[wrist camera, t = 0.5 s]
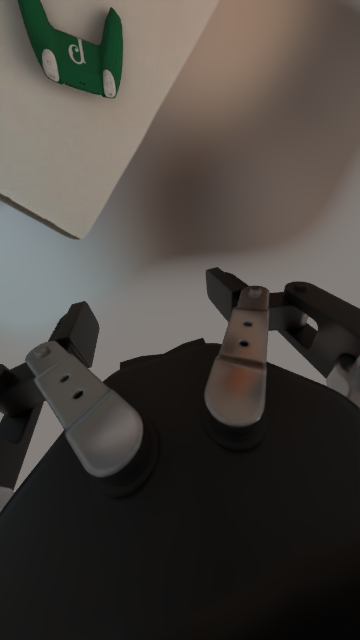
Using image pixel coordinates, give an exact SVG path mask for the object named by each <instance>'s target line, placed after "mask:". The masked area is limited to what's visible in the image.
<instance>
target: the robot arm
mask: <svg viewBox="0 0 360 640" xmlns="http://www.w3.org/2000/svg"><path fill="white" fill-rule="evenodd" d="M206 284H207V294H208V297H209V299H210V300H211V301H212V303H213V304H214V305H215V306H216V308H217V309H218V310H219V311H220V313H221V314H222V315H223V316H224V318H225V319H226V320H227V321H228V322H229V324H228V327H227V330H226V333H225V336H224V339H223V343H222V344H217V343H205V341H204V339H203V338H201V339H197V340H194V341H191V342H187V343H184V344H182V345H180V346H178V347H176V348H174V349H172V350H170V351H168V352H166V353H164V354H158V355H148V356H141V357H137V358H134V359H130V360H127V361H124V362H120V370H118V371H116V372H115V373H113V374H112V375H111V376H109V377H108V378H107V379H106V380H104V381H103V382H102V381H101V380H100V379H99V378H98V377H97V376H95V375H94V374H93V373H92V372H91V371H90V370H89V369H88V368H90V367H92V362H93V358H94V353H95V348H96V343H97V338H98V333H99V324H98V321H97V320H96V318H95V316H94V314H93V312H92V311H91V309H90V307H89V305H88V304H87V303H86V302H85V301H83V302H79V303H75V304H72V305H71V307H70V309H69V311H68V313H67V314H65V315H64V316H63V317H62V318H61V319H60V321H59V322H58V324H57V326H56V328H55V330H54V331H53V333H52V335H51V337H50V339H49V340H48V342H45V343H43V344H40V345H39V346H37V347H35V348H34V349H33V350H31V351H30V352H29V353H28V355H27V356H26V358H25V361H26V362H25V363H23V364H21V365H19V366H17V367H15V368H13V369H10V370H9V369H8V368H7V367H5V366H4V365H3V364H0V412H2V413H3V414H4V416H3V418H2V420H1V422H0V640H360V309H359V308H357V307H355V306H353V305H351V304H349V303H348V302H346V301H343V300H342V299H340V298H338V297H336V296H334V295H332V294H330V293H328V292H326V291H324V290H323V289H320V288H318V287H317V286H315V285H313V284H310V283H307V282H291V283H288V284H287V285H286V286H285V289H284V292H278V293H269V290H268V289H267V288H265V287H262V286H248V285H247V284H246V283H244V282H243V281H241V280H240V279H239V278H237V277H236V276H234V275H233V274H231V273H227V272H225V273H224V272H223V271H222V270H220V269H219V268H218V267H216V268H212V269H208V270H206ZM308 316H309V317H311V318H312V319H313V320H315V321H316V323H317V325H318V331H316V330H315V329H314V328H313V327H311V326H310V325H309V324H307V323H306V322H307V319H308ZM272 330H277V331H278V332H279V333H280V334H281V335H282V336H284V338H285V339H286V340H287V341H288V342H289V343H291V345H292V346H293V347H294V348H296V350H297V351H298V352H299V353H301V354H302V355H303V356H304V357H305V358H306V359H307V360H308V361H309V362H310V363H311V364H312V365H313V366H314V367H315V368H316V369H317V370H318V371H319V372H320V373H321V374H322V375H323V376H324V377H325V378H326V379H327V380H326V382H327V386H328V387H327V386H325V385H323V384H320V383H318V382H315V381H313V380H310V379H308V378H305V377H303V376H300V375H298V374H296V373H293V372H290V371H288V370H286V369H283V368H281V367H279V366H276V365H274V364H271V363H268V362H266V357H267V341H268V331H272ZM44 401H47V402H48V404H49V406H50V407H51V409H52V410H53V412H54V414H55V415H56V417H57V418H58V420H59V422H60V423H61V425H62V426H63V428H64V431H63V432H62V434H61V435H60V436H59V437H58V439H57V440H56V441H55V442H54V444H53V445H52V446H51V447H50V449H49V450H48V451H47V452H46V454H45V455H44V456H43V458H42V459H41V460H40V461H39V463H38V464H37V465H36V466H35V468H34V469H33V470H32V471H31V473H30V474H29V475H28V477H27V478H26V479H25V480H24V482H23V483H22V484H21V485H20V487H19V488H18V489H17V490H16V492H15V493H14V492H13V490H14V487H15V484H16V481H17V478H18V475H19V473H20V470H21V467H22V464H23V461H24V458H25V455H26V452H27V449H28V446H29V443H30V441H31V438H32V435H33V432H34V428H35V426H36V423H37V420H38V417H39V414H40V412H41V408H42V405H43V402H44Z"/></svg>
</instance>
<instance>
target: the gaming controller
mask: <svg viewBox="0 0 360 640" xmlns="http://www.w3.org/2000/svg"><path fill="white" fill-rule="evenodd" d="M18 3H19V7H20V10H21V14H22V17H23V21H24V24H25V27H26V30H27V33H28V36H29V39H30V42H31V45H32V47H33V50H34V52H35V55H36V57H37V59H38V61H39V63H40V65H41V67H42V69H43V71H44V73H45V75H46V76H47V77H48V78H49V79H51V80H52V81H54V82H57V83H59V84H64V83H65V85H68V86H71V87H74V88H76V89H80V90H83V91H86V92H90V93H93V94H97V95H102V96H103V97H106V98H115V97H116V95H117V91H118V88H119V85H120V80H121V72H122V57H123V38H122V24H121V20H120V18H119V16H118V15H117V13H116V12H115V10H114V9H113V8H110V11H109V13H108V15H107V18H106V20H105V25H104V31H103V37H102V41H101V45H95V44H92V43H90V42H87V41H85V40H82V39H80V38H77V37H74V36H72V35H69V34H67V33H64V32H62V31H59V30H56V29H54V28H53V27H52V26H51V25H50V23H49V22H48V19H47V17H46V14H45V11H44V9H43V6H42V4H41V1H40V0H18Z"/></svg>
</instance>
